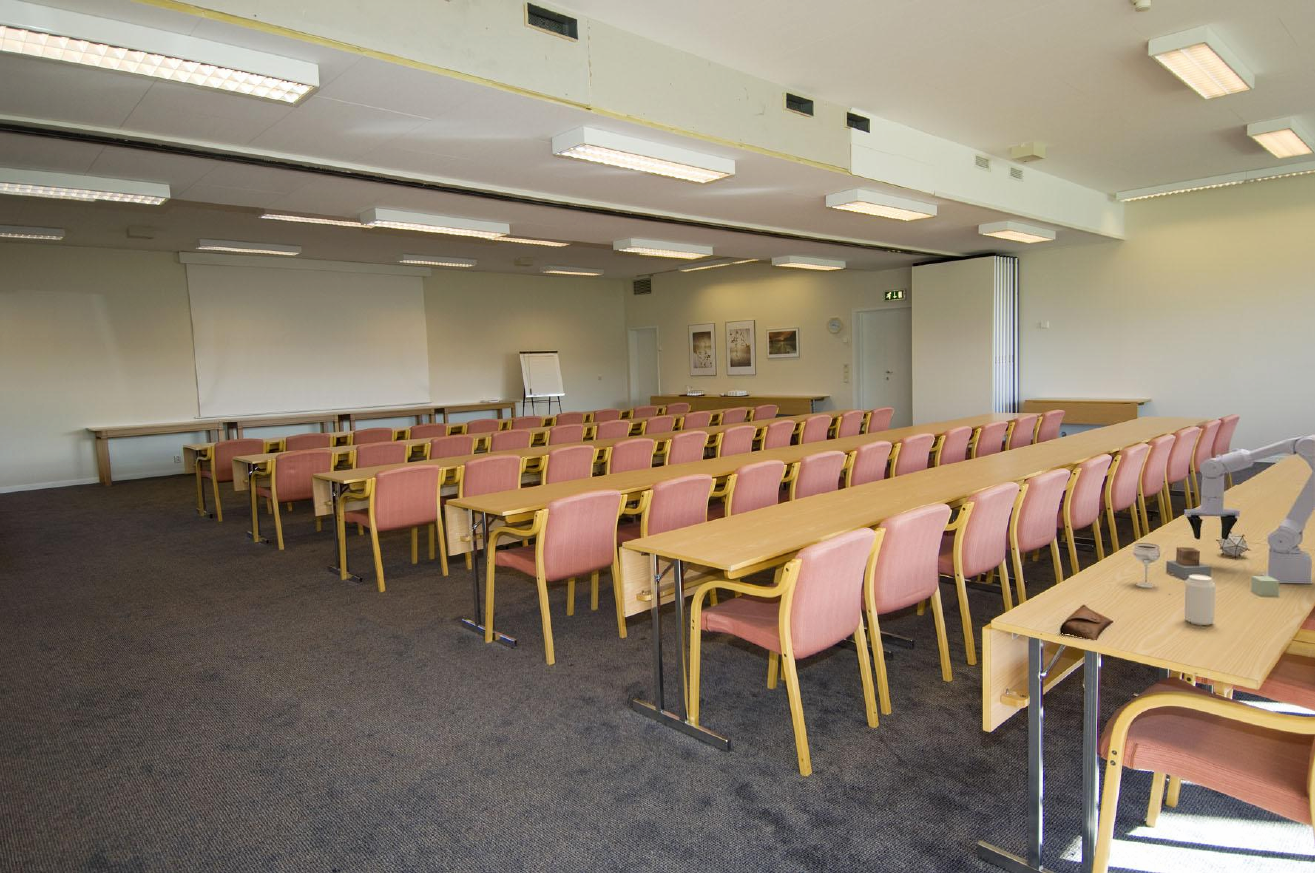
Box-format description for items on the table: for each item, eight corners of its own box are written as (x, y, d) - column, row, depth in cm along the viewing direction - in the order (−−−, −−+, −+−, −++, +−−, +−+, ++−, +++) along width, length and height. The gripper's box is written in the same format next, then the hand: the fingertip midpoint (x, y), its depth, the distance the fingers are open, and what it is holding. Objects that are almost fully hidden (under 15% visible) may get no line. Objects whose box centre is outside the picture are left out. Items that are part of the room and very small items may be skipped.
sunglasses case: (1097, 641, 185) (1082, 615, 187) (1070, 649, 189) (1055, 624, 191) (1114, 620, 198) (1100, 597, 200) (1088, 629, 202) (1074, 605, 204)
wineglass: (1135, 587, 224) (1136, 547, 223) (1130, 580, 230) (1131, 542, 229) (1161, 589, 221) (1163, 549, 220) (1156, 582, 228) (1157, 543, 226)
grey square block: (1191, 572, 237) (1191, 559, 237) (1210, 579, 229) (1210, 566, 229) (1166, 573, 237) (1166, 560, 237) (1184, 580, 229) (1185, 567, 229)
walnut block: (1192, 561, 235) (1193, 547, 234) (1199, 565, 230) (1199, 551, 230) (1176, 561, 236) (1176, 547, 235) (1182, 565, 231) (1183, 550, 231)
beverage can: (1181, 623, 195) (1183, 577, 193) (1187, 616, 199) (1188, 572, 198) (1211, 628, 190) (1212, 582, 189) (1216, 621, 194) (1217, 576, 193)
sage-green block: (1268, 591, 216) (1269, 576, 215) (1278, 596, 212) (1279, 580, 211) (1251, 591, 217) (1251, 576, 216) (1260, 596, 212) (1260, 580, 212)
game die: (1229, 568, 250) (1213, 546, 249) (1222, 553, 257) (1206, 531, 256) (1259, 558, 245) (1244, 535, 244) (1251, 543, 252) (1236, 521, 251)
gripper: (1231, 493, 240) (1230, 535, 241) (1180, 494, 243) (1179, 535, 244) (1244, 498, 233) (1242, 541, 234) (1191, 498, 236) (1189, 540, 237)
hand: (1210, 538), depth 239 cm, fingers open, 7 cm apart
